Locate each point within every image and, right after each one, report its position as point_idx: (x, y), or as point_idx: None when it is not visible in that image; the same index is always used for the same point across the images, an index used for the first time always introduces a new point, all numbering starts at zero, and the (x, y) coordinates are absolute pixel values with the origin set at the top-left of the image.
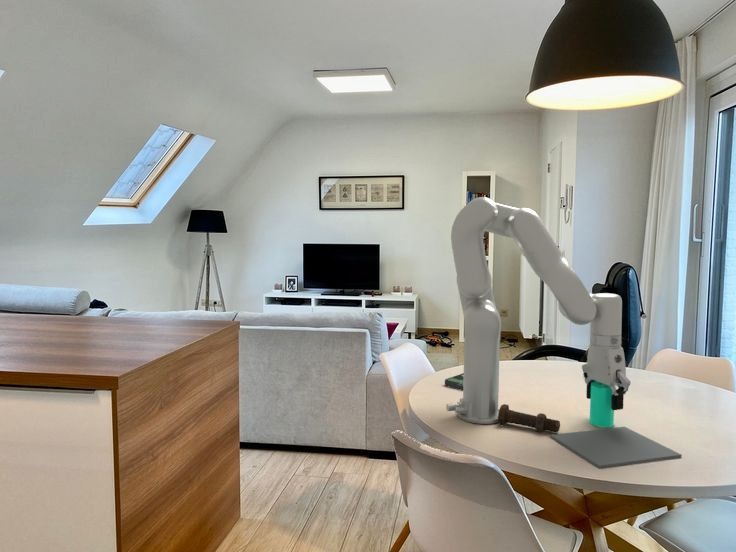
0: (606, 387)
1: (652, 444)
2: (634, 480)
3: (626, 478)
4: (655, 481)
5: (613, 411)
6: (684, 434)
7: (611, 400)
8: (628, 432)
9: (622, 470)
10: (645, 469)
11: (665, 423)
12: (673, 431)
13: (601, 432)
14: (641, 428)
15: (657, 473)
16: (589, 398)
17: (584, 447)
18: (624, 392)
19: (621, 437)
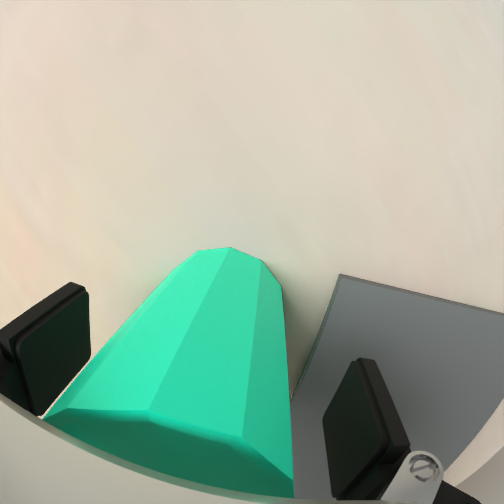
0: (201, 481)
1: (487, 343)
2: (468, 473)
3: (456, 480)
4: (496, 449)
5: (284, 330)
6: (495, 99)
7: (328, 464)
8: (394, 328)
9: (446, 474)
10: (481, 440)
11: (386, 18)
12: (465, 96)
13: (320, 415)
14: (382, 185)
15: (499, 431)
16: (89, 350)
17: None
18: (442, 491)
19: (396, 390)
